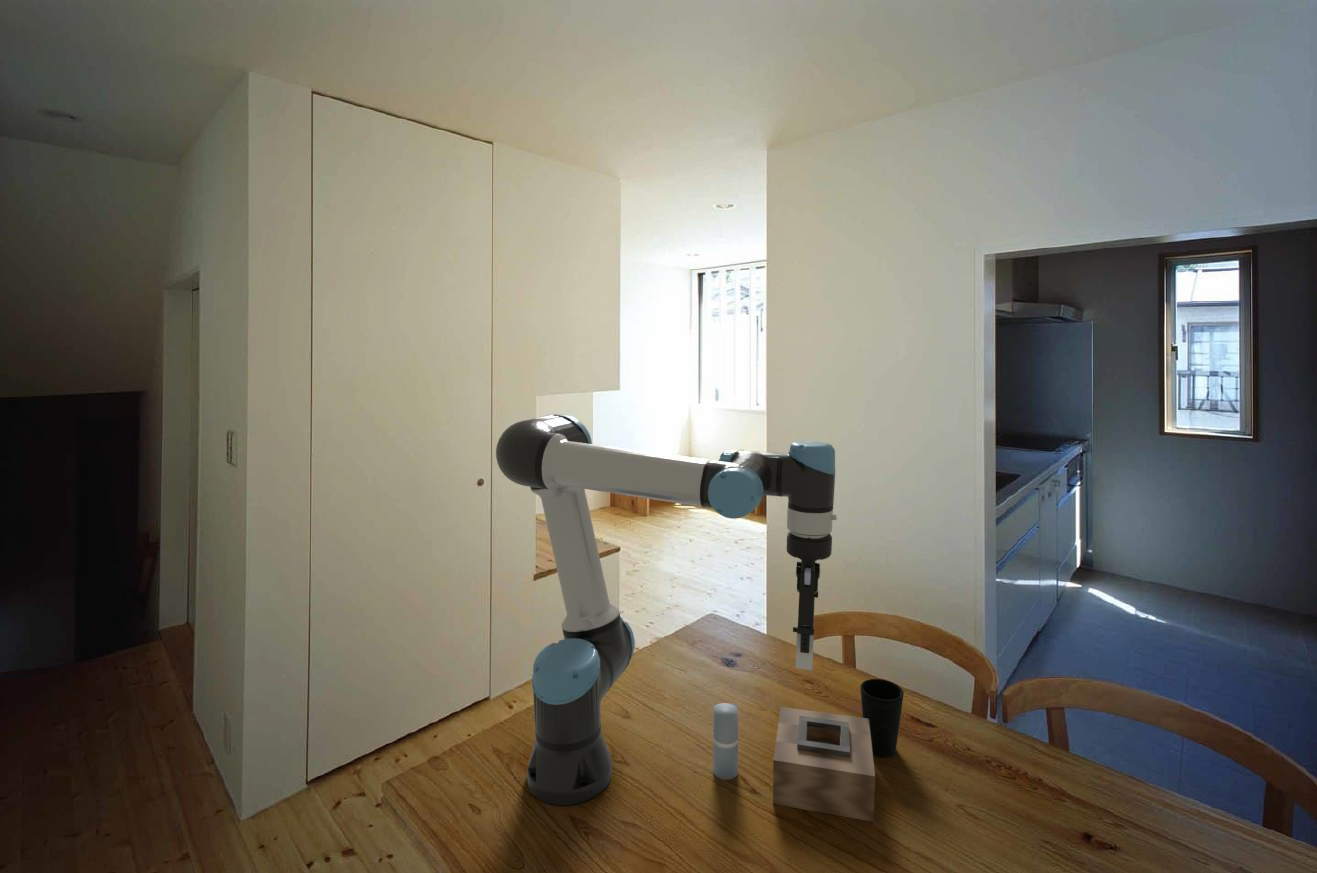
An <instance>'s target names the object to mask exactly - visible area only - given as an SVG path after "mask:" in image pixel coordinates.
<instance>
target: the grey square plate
mask: <svg viewBox="0 0 1317 873" xmlns="http://www.w3.org/2000/svg"><path fill="white" fill-rule="evenodd" d="M810 741H812V742H819V743H826V744H833V745H837V743H834V742H828V741H821V740H814V739H810Z"/></svg>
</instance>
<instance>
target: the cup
mask: <svg viewBox="0 0 1317 873" xmlns="http://www.w3.org/2000/svg"><path fill="white" fill-rule="evenodd" d="M904 694H905V693H904V690H903V688H902V687H901V686H899V685H898V684H897V683H894V682H892V681H890V680H886V679H882V678H869V679H866V680H864V681H863V682H862V683H861V684H860V697H861V698H860V700H861V711H862V712H861V713H862V718H867V719H869V725H870V734H871V743H872V752H873V756H876V757H879V758H891V757H893V756H895V754H896V751H897V744H898V737H899V730H900V723H901V715H902V708H903V703H904V702H903V700H904Z"/></svg>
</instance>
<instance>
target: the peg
mask: <svg viewBox="0 0 1317 873" xmlns="http://www.w3.org/2000/svg"><path fill="white" fill-rule="evenodd" d="M712 712H713V713H712V718H713V719H712V720H713V721H712V722H713V723H712V724H713V725H712V729H713V730H712V731H713V732H712V733H713V734H712V744H713V745H712V746H713V747H712V749H713V752H712V753H713V754H712V756H713V760H712V761H713V762H712V763H713V766H712V767H713V768H712V770H713V774H714V776H715V777H716V778H718V779H719V780H724V781H730V780H733V779H735V778H736V777H737V776H738V774H739V772H738V771H739V770H738V769H739V767H738V766H739V761H738V760H739V709H738V707H737V706H736V705H734V704H732V703H729V702H728V703H727V702H721V703H718V704H716V705H714V706H713V709H712Z"/></svg>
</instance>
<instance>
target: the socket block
mask: <svg viewBox="0 0 1317 873" xmlns="http://www.w3.org/2000/svg"><path fill="white" fill-rule="evenodd" d="M779 709H780V710H779V714H778V716H779V717H778V723H777V724H778V725H777V730H776V740H775V745H774V752H773V763H772V764H773V767H772V770H773V771H772V772H773V773H772V774H773V775H772V776H773V777H772V781H773V782H772V805H776V806H777V805H778V806H783V807H789V808H794V809H795V808H796V809H800V810H805V811H810V812H817V813H820V814H821V813H823V814H828V815H834V816H839V817H845V818H851V819H856V820H860V821H861V820H862V821H865V822H866V821H867V822H873V823H874V821H875V820H874V818H875V791H876V790H875V789H876V772H875V763H874V755H873V752H872V743H871V734H870V725H869V719H867V718H863V717H859V716H852V715H844V714H837V713H831V712H822V711H815V710H807V709H798V708H794V707H786V706H785V707H784V706H780V708H779ZM810 739H814V740H821V741H828V742H834V743H837V745H833V744H826V743H819V742H812V741H810Z"/></svg>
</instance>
